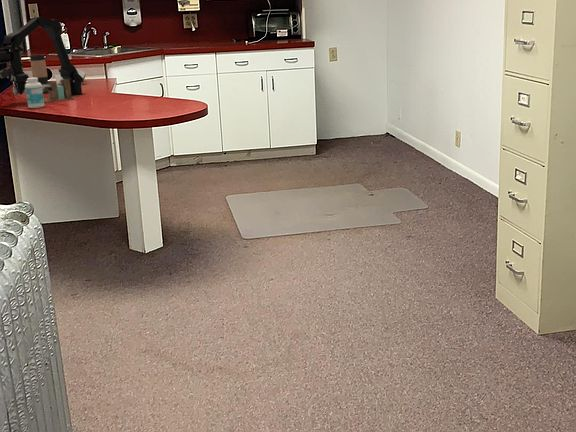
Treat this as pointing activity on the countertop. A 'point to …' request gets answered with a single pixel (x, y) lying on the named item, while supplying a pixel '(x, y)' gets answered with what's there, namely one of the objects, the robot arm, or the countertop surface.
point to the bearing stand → (54, 91)
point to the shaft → (16, 91)
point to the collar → (60, 92)
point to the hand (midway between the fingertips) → (20, 94)
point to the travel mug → (39, 69)
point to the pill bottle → (34, 93)
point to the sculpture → (81, 73)
